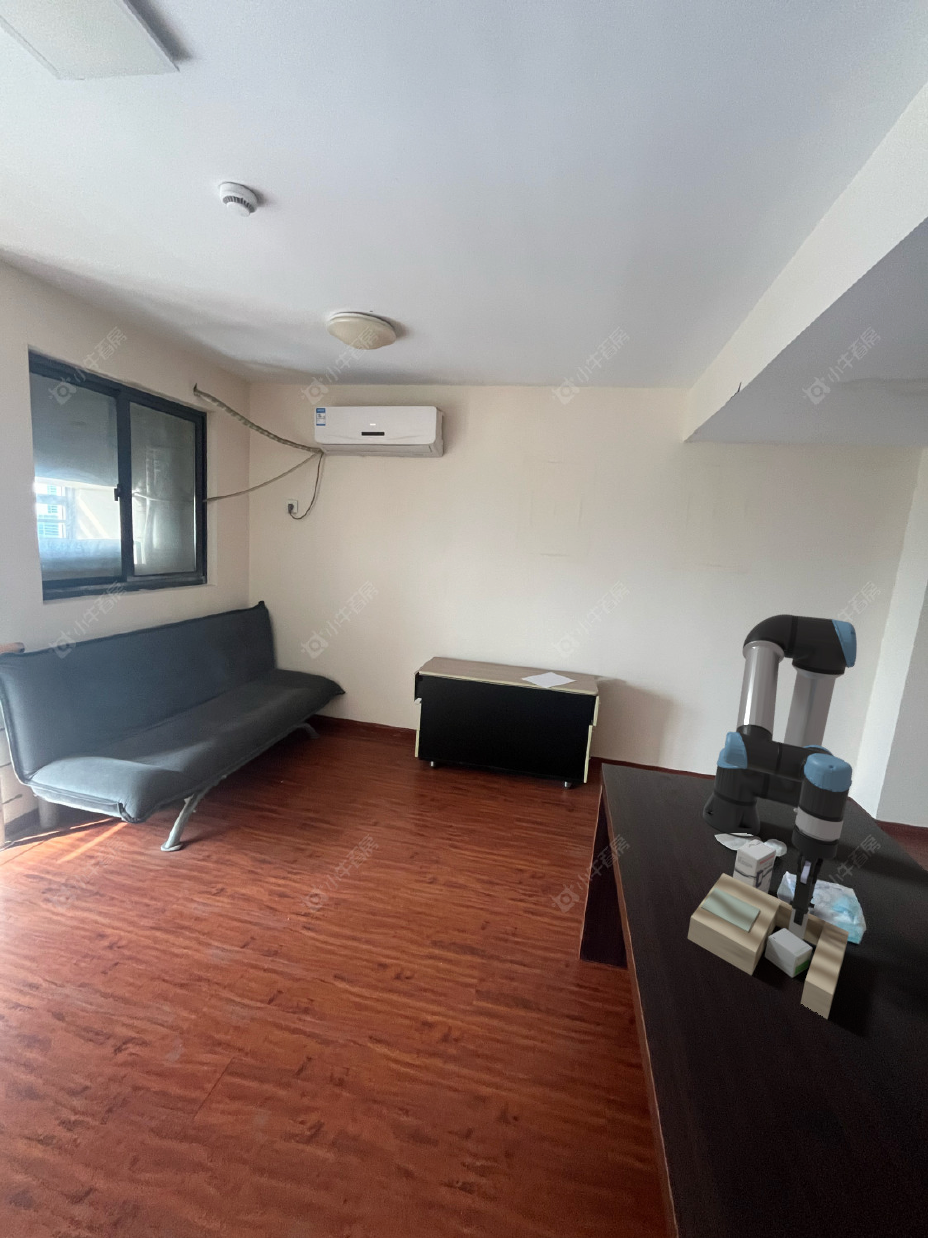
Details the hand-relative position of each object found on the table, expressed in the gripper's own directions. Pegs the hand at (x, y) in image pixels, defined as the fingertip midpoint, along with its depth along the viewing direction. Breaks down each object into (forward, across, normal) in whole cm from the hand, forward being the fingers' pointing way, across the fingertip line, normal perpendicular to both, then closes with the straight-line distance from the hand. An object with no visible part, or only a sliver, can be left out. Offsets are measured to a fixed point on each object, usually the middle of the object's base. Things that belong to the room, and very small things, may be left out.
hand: (796, 934), depth 105 cm
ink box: (+2, -9, -11) cm, 14 cm away
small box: (+2, +8, 0) cm, 8 cm away
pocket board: (+2, +7, -4) cm, 8 cm away
